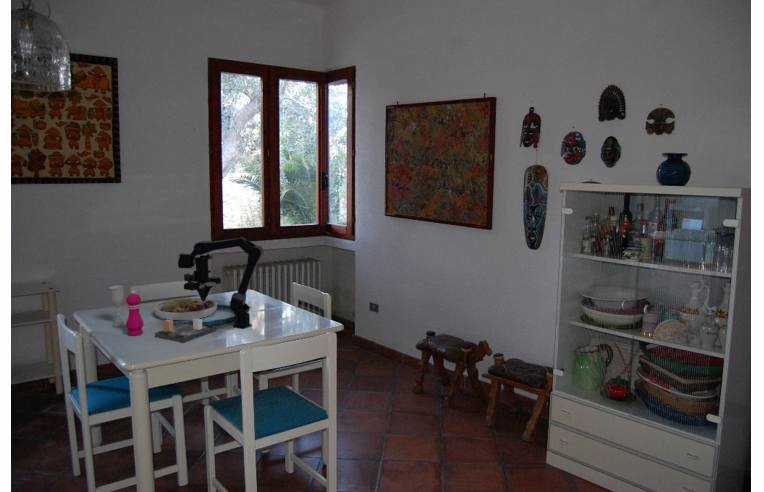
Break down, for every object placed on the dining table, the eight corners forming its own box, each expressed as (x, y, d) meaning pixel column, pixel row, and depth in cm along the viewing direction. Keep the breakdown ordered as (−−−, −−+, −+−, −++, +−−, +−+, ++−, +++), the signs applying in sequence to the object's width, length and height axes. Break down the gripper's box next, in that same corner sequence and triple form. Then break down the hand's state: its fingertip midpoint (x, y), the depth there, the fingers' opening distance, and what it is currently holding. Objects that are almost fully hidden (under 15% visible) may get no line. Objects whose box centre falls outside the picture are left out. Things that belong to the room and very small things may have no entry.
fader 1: (173, 329, 259) (172, 320, 259) (169, 331, 257) (168, 321, 256) (168, 329, 261) (167, 319, 260) (164, 330, 258) (163, 320, 258)
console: (216, 330, 267) (216, 325, 267) (184, 342, 250) (184, 336, 249) (188, 325, 275) (188, 320, 275) (155, 337, 257) (154, 331, 257)
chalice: (130, 323, 277) (128, 286, 274) (118, 327, 271) (116, 289, 268) (119, 321, 280) (117, 285, 278) (107, 325, 274) (104, 287, 271)
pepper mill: (137, 337, 257) (135, 292, 254) (123, 336, 258) (120, 291, 255) (147, 332, 264) (145, 289, 261) (133, 331, 265) (130, 288, 262)
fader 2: (202, 328, 262) (201, 318, 261) (198, 329, 260) (198, 320, 259) (197, 327, 263) (196, 317, 263) (193, 328, 261) (192, 319, 261)
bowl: (143, 321, 282) (142, 305, 281) (172, 306, 312) (171, 291, 311) (202, 324, 279) (201, 308, 278) (226, 308, 308) (225, 293, 307)
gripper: (203, 263, 282) (204, 295, 285) (174, 270, 266) (175, 303, 268) (221, 265, 277) (222, 297, 280) (192, 272, 261) (193, 306, 263)
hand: (203, 301), depth 273 cm, fingers closed
